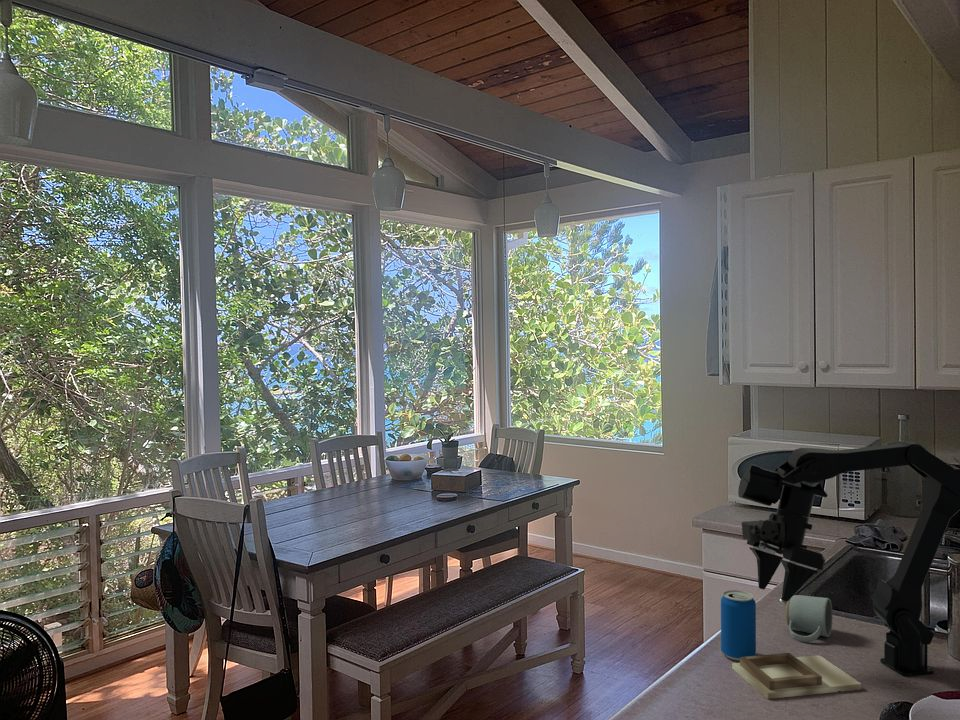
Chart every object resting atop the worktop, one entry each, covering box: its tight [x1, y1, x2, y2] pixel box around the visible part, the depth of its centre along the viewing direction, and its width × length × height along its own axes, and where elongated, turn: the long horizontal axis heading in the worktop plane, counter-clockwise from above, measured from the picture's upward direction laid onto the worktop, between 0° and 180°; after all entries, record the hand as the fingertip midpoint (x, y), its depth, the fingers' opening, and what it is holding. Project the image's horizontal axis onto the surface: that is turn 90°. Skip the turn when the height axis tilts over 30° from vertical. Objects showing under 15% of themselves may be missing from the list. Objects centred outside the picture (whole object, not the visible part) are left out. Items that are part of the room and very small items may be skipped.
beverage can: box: [720, 589, 757, 662], centre depth 144 cm, size 6×6×12 cm
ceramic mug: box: [785, 594, 834, 643], centre depth 154 cm, size 11×8×8 cm
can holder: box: [731, 652, 862, 700], centre depth 134 cm, size 18×12×2 cm, turn 100°
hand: (772, 594), depth 138 cm, fingers open, 9 cm apart
